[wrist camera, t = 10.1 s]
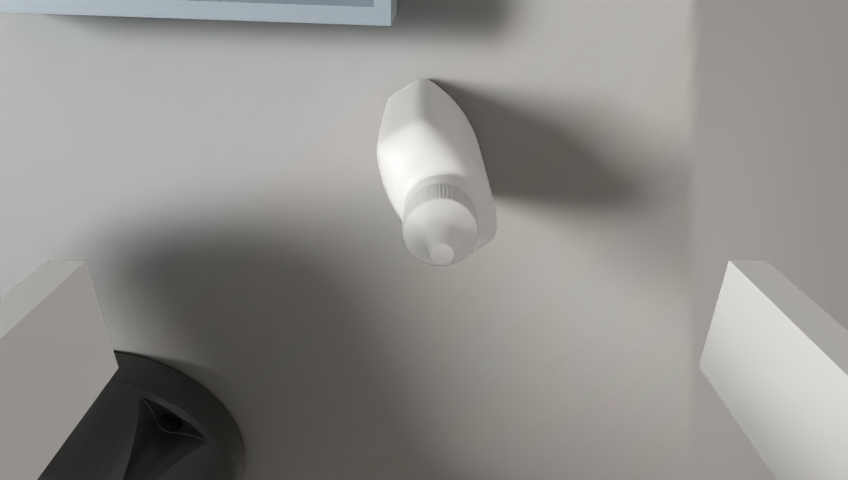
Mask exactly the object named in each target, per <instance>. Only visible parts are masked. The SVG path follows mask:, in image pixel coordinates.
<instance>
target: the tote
mask: <svg viewBox="0 0 848 480" xmlns="http://www.w3.org/2000/svg"><path fill="white" fill-rule="evenodd" d="M0 12H10V13H38V14H66V15H95V16H123V17H151V18H180V19H208V20H236V21H265V22H293V23H321V24H350V25H378V26H391V25H392V23H393V20H394V18H395V16H396V14H397V0H0Z"/></svg>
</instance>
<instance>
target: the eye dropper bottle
mask: <svg viewBox="0 0 848 480" xmlns="http://www.w3.org/2000/svg"><path fill="white" fill-rule="evenodd" d="M377 159H378V165H379V170H380V174H381V178H382V181H383V184H384V187H385V190H386V192H387V195H388V197H389V199H390V201H391V203H392V205H393V207H394V209H395V211H396V212H397V214H398V215H399V217H400V218H401V220H402V221H403V225H402V235H403V239H404V242H405V245H406V246H407V249H409V252H411V254H412V255H414V257H416V258H417V259H419V260H420V261H423V263H427V264H430V265H434V266H436V265H437V266H440V265H441V266H444V265H446V266H447V265H451V264H454V263H457V262H458V261H461V260H462V259H464V258H465V257H467V255H468V254H470V253H471V252H473V251H475V250H477V249H479V248H481V247H482V246H484V245H486V244H487V243H489V242H490V241H491V240H492V239H493V238H494V236H495V232H496V211H495V205H494V201H493V197H492V193H491V189H490V185H489V181H488V178H487V174H486V170H485V166H484V163H483V159H482V155H481V152H480V148H479V144H478V141H477V138H476V136H475V133H474V131H473V129H472V126H471V124H470V123H469V121H468V119H467V117H466V116H465V114H464V113H463V111H462V110H461V108H460V107H459V106H458V105H457V103H456V102H455V101H454V100H453V99H452V98H451V97H450V96H449V95H448V94H447V93H446V92H445V91H444V90H442V89H441V88H440V87H439V86H437V85H436V84H435V83H433V82H431V81H430V80H428V79H424V78H420V79H417V80H415V81H413V82H411V83H409V84H408V85H406V86H405V87H403V88H402V89H400V90H398V91H397V92H396V93H394V94H393V95H392V96H391V97H390V98H389V99H388V101H387V105H386V109H385V113H384V116H383V120H382V125H381V129H380V133H379V138H378V144H377Z"/></svg>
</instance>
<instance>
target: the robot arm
mask: <svg viewBox="0 0 848 480" xmlns="http://www.w3.org/2000/svg"><path fill="white" fill-rule="evenodd" d="M699 367H700V368H701V370H702V372H703V373H704V374H705V376H706V377H707V379H708V380H709V382H710V383H711V385H712V386H713V388H714V389H715V390H716V392H717V393H718V395H719V396H720V398H721V399H722V401H723V402H724V404H725V405H726V407H727V408H728V410H729V411H730V412H731V414H732V415H733V417H734V418H735V420H736V421H737V423H738V424H739V426H740V427H741V429H742V430H743V431H744V433H745V434H746V436H747V437H748V439H749V440H750V442H751V443H752V445H753V446H754V447H755V449H756V450H757V452H758V453H759V455H760V456H761V458H762V459H763V460H764V462H765V464H766V465H767V466H768V468H769V469H770V471H771V472H772V474H773V475H774V477H775V478H776V480H848V331H847V330H845V328H843V327H842V326H841V325H840V324H839V323H838V322H836V321H835V320H834V319H833V318H832V317H831V316H830V315H829V314H827V313H826V312H825V311H824V310H823V309H822V308H821V307H819V306H818V305H817V304H816V303H815V302H814V301H812V300H811V299H810V298H809V297H808V296H807V295H806V294H804V293H803V292H802V291H801V290H800V289H799V288H798V287H796V286H795V285H794V284H793V283H791V281H790V280H788V279H787V278H786V277H785V276H784V275H783V274H781V273H780V272H779V271H778V270H777V269H776V268H775V267H773V266H772V265H771V264H770V263H769V262H768V261H767V260H729V262H728V266H727V269H726V273H725V276H724V280H723V283H722V287H721V291H720V294H719V298H718V301H717V305H716V308H715V312H714V315H713V319H712V322H711V326H710V329H709V333H708V336H707V340H706V343H705V348H704V351H703V354H702V358H701V361H700V365H699ZM244 462H245V453H244V446H243V442H242V438H241V435H240V433H239V430H238V428H237V426H236V424H235V423H234V421H233V419H232V418H231V416H230V415H229V413H228V412H227V411H226V410H225V408H224V407H223V406H222V405H221V404H220V403H219V402H218V401H217V400H216V399H215V398H214V397H213V396H212V395H211V394H210V393H209V392H208V391H206V390H205V389H204V388H203V387H201V386H200V385H199V384H197V383H196V382H194V381H193V380H191V379H189V378H188V377H186V376H185V375H183V374H181V373H179V372H177V371H175V370H173V369H171V368H169V367H166V366H164V365H161V364H159V363H156V362H153V361H150V360H147V359H144V358H140V357H136V356H132V355H127V354H122V353H114V351H113V348H112V345H111V341H110V338H109V335H108V331H107V328H106V325H105V321H104V318H103V315H102V312H101V308H100V305H99V302H98V298H97V295H96V292H95V288H94V285H93V282H92V279H91V275H90V272H89V269H88V265H87V262H86V260H85V261H47V262H46V263H44V264H43V265H42V266H41V267H39V268H38V269H37V270H36V271H35V272H33V273H32V274H31V275H30V276H29V277H27V278H26V279H25V280H24V281H22V282H21V283H20V284H19V285H18V286H16V287H15V288H14V289H13V290H11V291H10V292H9V293H8V294H7V295H5V296H4V297H3V298H2V299H1V300H0V480H240V479H241V476H242V473H243V469H244Z"/></svg>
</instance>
